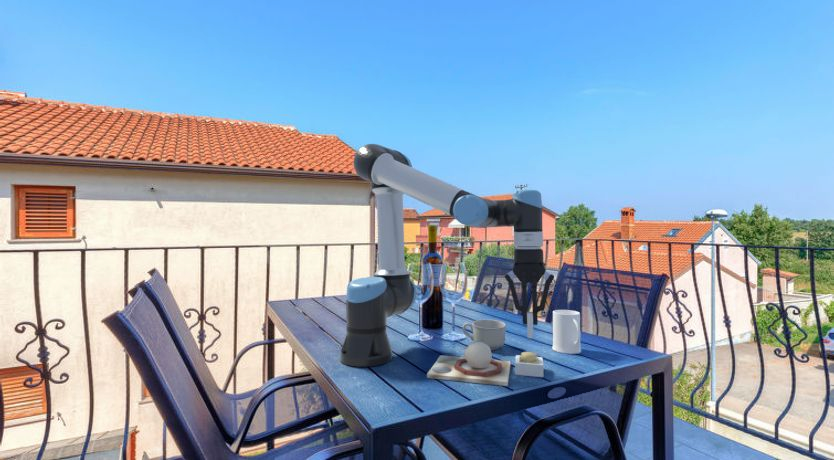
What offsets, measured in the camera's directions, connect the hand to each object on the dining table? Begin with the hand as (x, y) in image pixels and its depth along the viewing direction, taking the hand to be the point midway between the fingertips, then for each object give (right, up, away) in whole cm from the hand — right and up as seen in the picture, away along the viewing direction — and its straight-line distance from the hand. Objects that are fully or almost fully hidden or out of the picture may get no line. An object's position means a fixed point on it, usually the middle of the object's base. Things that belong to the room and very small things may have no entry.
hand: (530, 336), depth 102 cm
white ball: (-14, -8, 0) cm, 16 cm away
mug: (+17, -10, +18) cm, 27 cm away
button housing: (0, -9, 0) cm, 9 cm away
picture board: (-16, -9, 0) cm, 18 cm away
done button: (0, -6, 0) cm, 6 cm away
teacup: (-8, -10, +23) cm, 26 cm away
